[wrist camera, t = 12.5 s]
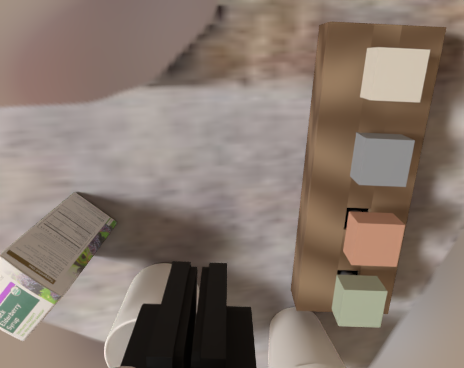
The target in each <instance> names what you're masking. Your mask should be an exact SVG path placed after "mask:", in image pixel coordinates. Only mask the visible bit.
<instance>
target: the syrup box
mask: <svg viewBox="0 0 464 368" xmlns="http://www.w3.org/2000/svg"><path fill="white" fill-rule="evenodd" d="M116 224H117V222H116V221H115V220H113V219H112V218H111V217H109V216H108V215H107V214H105V213H104V212H102V211H101V210H100V209H98V208H97V207H95V206H94V205H93V204H91V203H90V202H88V201H87V200H86V199H84V198H83V197H81V196H80V195H78V194H77V193H76V192H74V193H73V194H72V195H70V196H69V197H68V198H67V199H65V200H64V201H63V202H62V203H60V204H59V205H58V206H57V207H56V208H54V209H53V210H52V211H51V212H50V213H48V214H47V215H46V216H45V217H44V218H42V219H41V220H40V221H39V222H38V223H36V224H35V225H34V226H33V227H31V228H30V229H29V230H28V231H27V232H25V233H24V234H23V235H22V236H21V237H19V238H18V239H17V240H16V241H15V242H13V243H12V244H11V245H10V246H9V247H8V248H6V249H5V250H4V251H3V252H2V253H0V330H2V331H4V332H5V333H7V334H9V335H11V336H13V337H15V338H17V339H20V340H22V341H25V340H26V339H27V338H28V336H29V335H30V334H31V333H32V332H33V331H34V329H35V328H36V327H37V326H38V325H39V324H40V322H41V321H42V320H43V319H44V318H45V317H46V315H47V314H48V313H49V312H50V311H51V309H52V308H53V307H54V306H55V305H56V304H57V302H58V301H59V300H60V299H61V298H62V297H63V296H64V295H65V293H66V292H67V291H68V289H69V288H70V286H71V285H72V284H73V282H74V281H75V280H76V278H77V277H78V276H79V274H80V273H81V272H82V270H83V269H84V268H85V266H86V265H87V264H88V262H89V261H90V260H91V258H92V257H93V255H94V254H95V253H96V251H97V250H98V249H99V247H100V246H101V244H102V243H103V242H104V240H105V239H106V237H107V236H108V235H109V233H110V232H111V231H112V229H113V228H114V227H115V225H116Z"/></svg>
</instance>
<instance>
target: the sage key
mask: <svg viewBox="0 0 464 368" xmlns="http://www.w3.org/2000/svg"><path fill="white" fill-rule="evenodd" d="M386 296H387V290H386V288H385V287H384V285H383V284H382V282H381V281H380V280H379V278H378V277H377V276H363V275H353V274H352V272H351V270H338V271H337V276H336V283H335V289H334V296H333V303H332V311H333V314H334V316H335V319H336V321H337V324H338V326H349V327H379V328H380V326H381V321H382V316H383V311H384V306H385V301H386Z"/></svg>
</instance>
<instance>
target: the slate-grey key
mask: <svg viewBox="0 0 464 368" xmlns="http://www.w3.org/2000/svg"><path fill="white" fill-rule="evenodd" d="M414 143H415V140H413V139H411V138H408V137H406V136H404V135H402V134H381V133H359V132H356V138H355V144H354V151H353V158H352V165H351V172H350V177H351V178H352V179H353V180H354V181H355V182H356V183H357V184H359V185H371V186H396V187H406V184H407V178H408V173H409V168H410V163H411V158H412V153H413V148H414Z"/></svg>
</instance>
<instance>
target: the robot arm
mask: <svg viewBox="0 0 464 368" xmlns="http://www.w3.org/2000/svg"><path fill="white" fill-rule="evenodd" d="M226 299H227V263H210V264H209V267H203V268H202V275H201V283H200V291H199V298H198V306H197V267H191V262H175V261H173V262H172V266H171V269H170V273H169V277H168V280H167V284H166V287H165V291H164V295H163V298H162V302H161V304H145V303H144V304H142V306H141V309H140V311H139V314H138V317H137V320H136V323H135V326H134V328H133V331H132V334H131V337H130V340H129V343H128V345H127V348H126V351H125V354H124V357H123V360H122V362H121V365H120V367H115V368H256V358H255V346H254V335H253V323H252V312H251V307H233V306H226ZM196 311H197V314H196Z"/></svg>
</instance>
